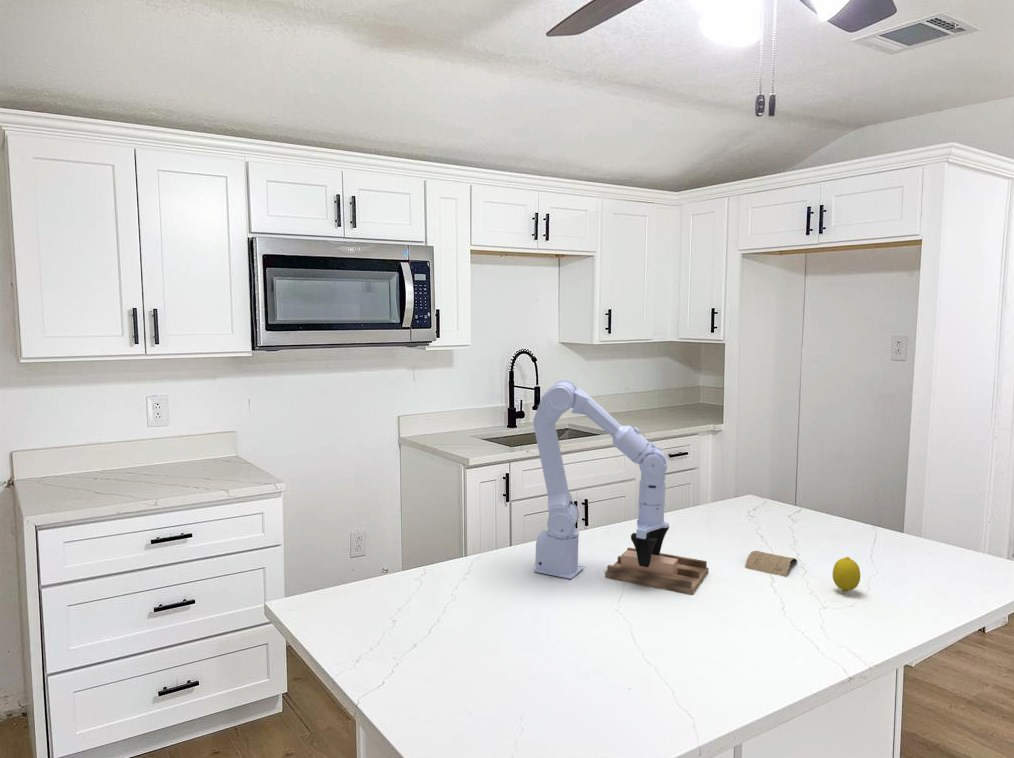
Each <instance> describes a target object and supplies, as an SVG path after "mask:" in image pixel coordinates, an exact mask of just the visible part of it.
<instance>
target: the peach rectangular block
mask: <svg viewBox="0 0 1014 758" xmlns="http://www.w3.org/2000/svg"><path fill="white" fill-rule="evenodd" d="M620 556H621V567H623V568H628V569H633V570H638V571H644V572H649V573H654V574H659V575H665V576H670V577H675V578H676V577H677V572H678V559H675V558H669V557H664V556H658V555H653V554H652V555H651V561H650V565H649V567H643V566H639V563H638V558H637V552H636V551H630V550H627V549H626V550H625V551H624V552H623V553H622V554H621V555H620Z"/></svg>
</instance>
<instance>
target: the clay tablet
mask: <svg viewBox="0 0 1014 758" xmlns="http://www.w3.org/2000/svg"><path fill="white" fill-rule="evenodd" d="M792 561H793V562H794V561H795V562H797V561H798V559H797V558H794V557H788V556H785V555H784V556H783V555H780V554H779V555H777V554H774V553H773V554H772V553H769V552H764V551H759V550H752V551H751V552H750V553H749V555H747V558H746V561H745V562H746V563H745V565H744V568H745V569H748V570H752V571H756V572H762V573H767V574H771V575H776V576H780V577H784V578H786V577H787V576H788V572H789V571H788V570H790V566H791V562H792Z"/></svg>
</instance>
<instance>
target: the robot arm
mask: <svg viewBox="0 0 1014 758" xmlns="http://www.w3.org/2000/svg"><path fill="white" fill-rule="evenodd" d="M571 408H572V410H571V414H576V415H584V416H586V417H587V418H588V419H590V420H591V421H592V422H594V423H595V424H596V425H597V426H598V427H600V428H601V429H602V430H604V431H605V432H606V433H607V434H609V435H610V436H611V437H612V446H614V447H615V448H617V450H619V451H620V452H621V453H622V454H623V455H624V456H626V457H627V458H628V459H629V460H630V461H632V462H633V464H637V465H638V466H639V470H640V472H641V473H640V480H639V483H638V485H639V488H638V512H637V513H638V514H637V520H636V527H637V529H636V532H632V534H631V535H630V541H631V542H632V543H633V546H634V548H635V549H636V552H637V558H638V563H639V566H643V567H649V565H650V561H651V555H652V554H653V555H658V556H659V554H660V553H661V549H662V546H663V543H664V539H665V536H666V535H667V533H668V530H669V528H670V523H669V522H665V502H666V501H665V500H666V482H665V480H666V472H667V469H668V466H667V457H666V454H665V453H664V451H662V449H661V448H660V447H657V446H656V444H655V443H654V442H650V441H648V440H647V439H646V438H645V437H644V436H643V435H642V434H640V429H639V427H636V426H635V427H634V428H633V427H632V426H631V425H622V424H620V423H619V422H618V421H617V420H616V419H615V418H614V417H613V416H611V414H610V413H608V411H606V410H605V409H604V408H603V407H602V406H601V405H600V404H599V403H598V402H597V401H595V399H593V398H592V397H591V396H590V395H589V394H588V393H586V392H585V391H584V390H583V389H581V388H580V387H578V388H577V386H576V385H575V384H574V383H573V382H571V381H570V380H567V379H566V380H560V381H557V382H556V383H555V384H553V385H552V386H551V387H549V389H547V391H545V393H544V394H543V395H542V396H541V399H540V402H539V404H538V407H537V409H536V411H535V415H534V417H533V420H532V423H533V429H534V434H535V439H536V443H537V447H538V452H539V453H538V454H539V459H540V463H541V469H542V473H543V477H544V482H545V486H546V487H545V488H546V492H547V509H548V517H547V522H546V523H547V524H546V526H547V530H541V531H540V532H539V533H538V535H537V538H536V540H535V541H536V542H535V565H534V566H535V568H534V569H533V572H535V573H538V574H544V575H549V576H554V577H559V578H564V579H569V580H572V579H573V578H574V577H576V576H577V575H578V574H579V573H580V572H582V571H583V570H585V567H584V566H583V565H579V536H580V535H579V534H580V533H579V530H578V529H577V528H576V523H577V522H578V521H579V518H580V517H579V516H580V512H579V508H578V507H577V505H576V504H575V503H574V500H573V498H572V494H571V492H570V490H569V486H568V480H567V477H566V475H567V474H566V471H565V466H564V462H563V457H562V451H561V447H560V441H559V437H558V431H557V426H556V424H557V422H558V421H559V419H560V418H561V417H562V415H563V414H565V413H566V412H568V411H569V410H570V409H571Z"/></svg>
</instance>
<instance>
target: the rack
mask: <svg viewBox="0 0 1014 758" xmlns="http://www.w3.org/2000/svg"><path fill="white" fill-rule="evenodd" d="M626 550H630V551H636V549H635V547H627V549H626ZM659 556H664V557H669V558H675V559H678V572H677V577H676V578H675V577H670V576H665V575H659V574H654V573H649V572H644V571H638V570H633V569H628V568H623V567H621V555H618V556H617V561H615V562H614V563H613V565H611V564H609V565H607V568H606V571H605V572H604V577H605V578H606V579H612V580H616V581H622V582H627V583H632V584H637V585H641V586H642V585H643V586H646V587H652V588H656V589H662V590H667V591H673V592H677V593H683V594H687V595H694V594H695V592H696V591H697V590H698V588H699V587H700V586H701V584H702V582H703V581H704V579H705V578H706V577H707V575H708V574H709V569H710V568H709V567H708V566H707V565H708V564H707V563H708V562H707V560H703V559H702V560H701V559H698V558H697V559H696V558H690V557H686V556H679V555H674V554H670V553H669V554H668V553H662V552H660V554H659Z"/></svg>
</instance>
